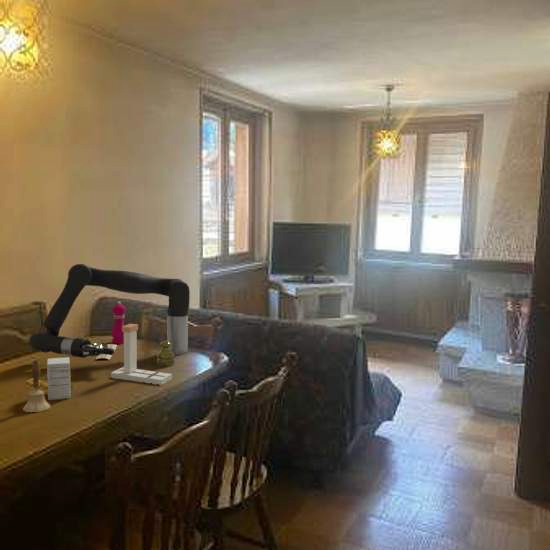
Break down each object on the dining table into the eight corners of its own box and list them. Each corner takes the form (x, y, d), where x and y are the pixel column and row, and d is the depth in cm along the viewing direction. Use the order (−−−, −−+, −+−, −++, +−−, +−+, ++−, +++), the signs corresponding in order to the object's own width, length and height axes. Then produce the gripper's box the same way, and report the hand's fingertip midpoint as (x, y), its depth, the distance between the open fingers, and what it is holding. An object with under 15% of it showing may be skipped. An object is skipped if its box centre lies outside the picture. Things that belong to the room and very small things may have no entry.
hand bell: (18, 407, 181) (17, 359, 179) (44, 401, 187) (43, 355, 185) (28, 415, 175) (27, 365, 173) (54, 408, 181) (53, 361, 179)
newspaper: (104, 347, 260) (104, 344, 260) (119, 347, 261) (119, 344, 261) (94, 362, 237) (94, 357, 237) (111, 361, 238) (111, 357, 238)
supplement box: (47, 393, 195) (47, 358, 194) (70, 391, 198) (70, 356, 196) (47, 400, 189) (46, 364, 187) (70, 398, 191) (70, 362, 190)
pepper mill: (129, 341, 271) (129, 300, 268) (123, 344, 264) (123, 303, 261) (114, 340, 272) (114, 299, 269) (108, 343, 264) (108, 302, 262)
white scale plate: (122, 372, 222) (122, 366, 222) (172, 379, 215) (172, 373, 215) (111, 377, 214) (110, 372, 214) (161, 385, 208) (161, 379, 207)
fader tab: (130, 368, 219) (130, 323, 217) (138, 369, 218) (138, 324, 216) (122, 372, 214) (122, 326, 212) (130, 373, 213) (130, 327, 211)
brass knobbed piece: (176, 362, 238) (177, 339, 237) (171, 367, 231) (172, 343, 230) (160, 361, 239) (160, 338, 238) (154, 366, 232) (154, 342, 230)
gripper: (64, 341, 216) (102, 346, 211) (86, 334, 229) (122, 338, 223) (64, 360, 217) (102, 365, 212) (86, 352, 230) (122, 357, 224)
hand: (112, 351), depth 218 cm, fingers closed
